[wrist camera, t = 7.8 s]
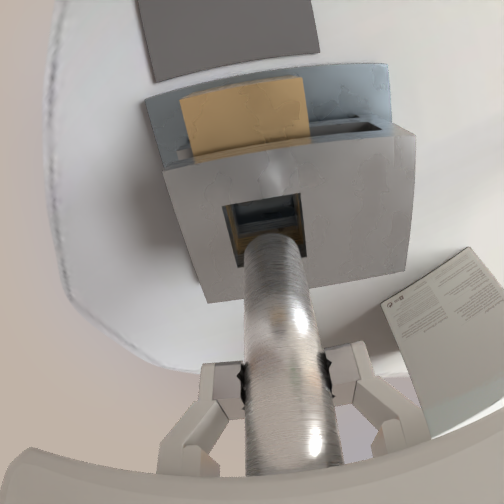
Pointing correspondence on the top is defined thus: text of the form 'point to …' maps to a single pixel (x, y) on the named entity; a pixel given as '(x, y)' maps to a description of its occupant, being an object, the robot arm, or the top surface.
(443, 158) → the top surface
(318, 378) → the pin
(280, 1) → the mat
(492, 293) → the supplement box
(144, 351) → the top surface
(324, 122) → the grey layered square block
